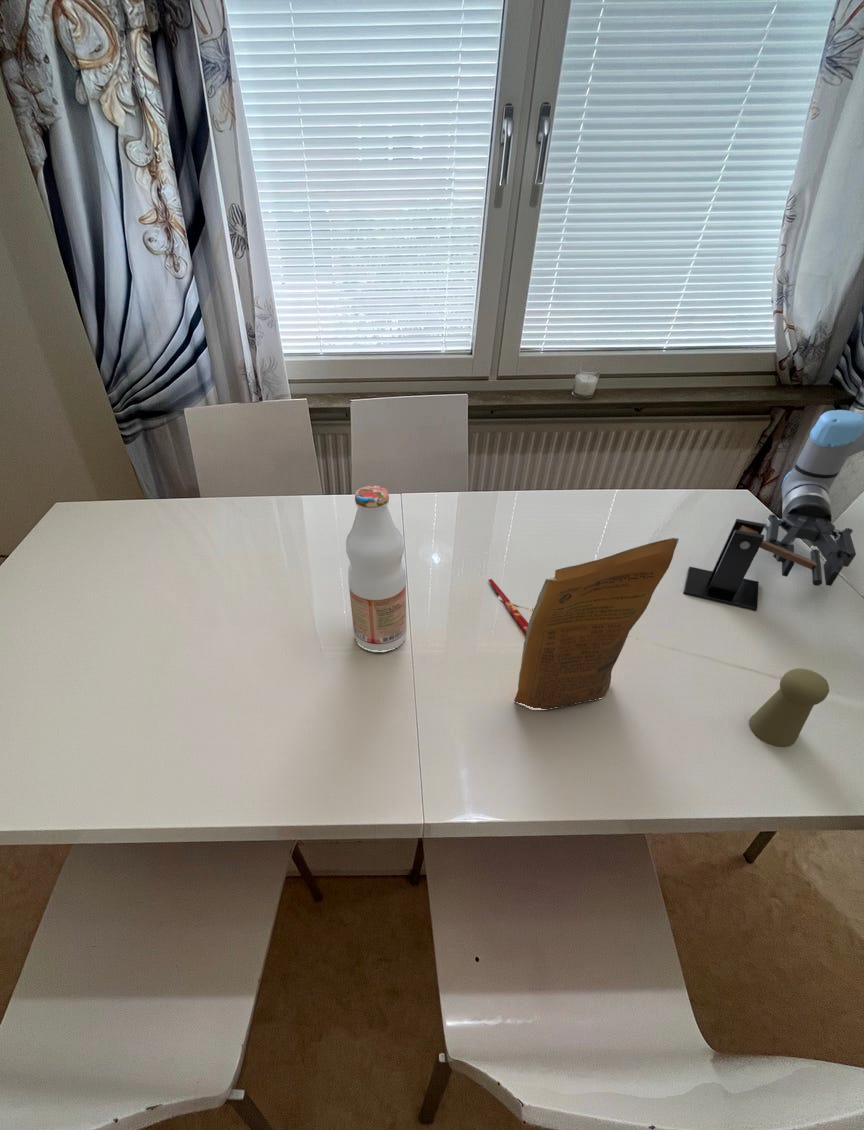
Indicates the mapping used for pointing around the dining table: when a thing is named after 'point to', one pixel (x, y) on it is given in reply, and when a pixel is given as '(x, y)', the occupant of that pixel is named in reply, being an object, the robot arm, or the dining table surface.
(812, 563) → the wood and metal hammer
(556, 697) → the pancake mix bag
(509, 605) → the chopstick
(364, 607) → the fruit juice
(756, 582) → the black lever stand
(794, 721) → the cork
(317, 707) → the dining table surface
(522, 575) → the dining table surface
